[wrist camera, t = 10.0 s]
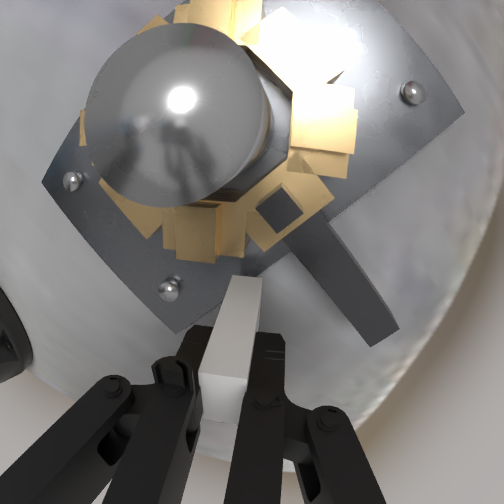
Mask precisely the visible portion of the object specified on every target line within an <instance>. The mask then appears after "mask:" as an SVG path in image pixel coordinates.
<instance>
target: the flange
mask: <svg viewBox="0 0 504 504" xmlns="http://www.w3.org/2000/svg"><path fill="white" fill-rule="evenodd" d="M262 1H263V6H264V11H265V16H266V17H268V16H269V15H271V14H272V13H274V12H275V11H277V10H279V9H280V8H282V7H283V8H285V9H286V10H287V11H288V12H289V13H291V14H292V15H293V16H294V17H295V18H296V19H298V20H299V21H300V22H301V23H302V24H303V25H304V26H305V27H306V28H308V29H309V30H310V31H311V32H312V33H313V34H314V35H315V36H316V37H317V38H318V39H319V40H320V41H321V42H322V43H323V44H324V45H325V46H326V47H327V48H328V49H329V50H330V51H331V52H332V53H333V54H334V55H335V56H336V57H337V58H338V59H339V60H340V61H341V63H342V64H343V65H344V66H345V67H346V69H345V71H344V72H343V73H342V74H341V75H340V76H339V78H338V79H337V80H336V81H335V82H334V83H332V84H331V85H336V86H342V87H348V88H353V89H354V104H353V109H354V110H358V117H357V129H356V140H355V149H354V154H349V160H348V168H347V176H346V179H344V178H337V177H330V176H322V175H317V176H318V177H319V178H320V180H321V181H322V182H323V183H324V185H325V186H326V187H327V189H328V190H329V191H330V193H331V194H332V195H333V196H334V198H335V199H333V200H332V201H331V202H329V203H328V204H327V205H325V206H324V207H323V208H321V209H320V210H319V211H320V212H321V214H322V215H323V216H324V218H325V219H326V220H327V222H329V221H330V220H331V219H333V218H334V217H335V216H337V215H338V214H339V213H341V212H342V211H343V210H344V209H346V208H347V207H348V206H350V205H351V204H352V203H353V202H355V201H356V200H357V199H359V198H360V197H361V196H362V195H364V194H365V193H366V192H367V191H369V190H370V189H371V188H373V187H374V186H375V185H376V184H378V183H379V182H380V181H381V180H383V179H384V178H385V177H386V176H388V175H389V174H390V173H391V172H393V171H394V170H395V169H397V168H398V167H399V166H400V165H401V164H403V163H404V162H405V161H406V160H408V159H409V158H410V157H411V156H413V155H414V154H415V153H416V152H418V151H419V150H420V149H421V148H423V147H424V146H425V145H426V144H427V143H429V142H430V141H431V140H432V139H434V138H435V137H436V136H437V135H438V134H440V133H441V132H442V131H443V130H444V129H446V128H447V127H448V126H449V125H450V124H452V123H453V122H454V121H455V120H456V119H458V118H459V117H460V116H461V115H462V114H464V113H465V112H464V110H463V108H462V107H461V105H460V103H459V102H458V100H457V98H456V97H455V95H454V94H453V92H452V91H451V89H450V87H449V86H448V84H447V83H446V81H445V80H444V79H443V77H442V76H441V74H440V73H439V71H438V70H437V69H436V67H435V66H434V64H433V63H432V62H431V60H430V59H429V58H428V57H427V55H426V54H425V53H424V51H423V50H422V49H421V48H420V46H419V45H418V44H417V43H416V42H415V40H414V39H413V38H412V37H411V36H410V35H409V33H408V32H407V31H406V30H405V29H404V28H403V27H402V26H401V25H400V23H399V22H398V21H397V20H396V19H395V18H394V17H393V16H392V15H391V14H390V13H389V12H388V11H387V10H386V9H385V8H384V7H383V6H382V5H381V4H380V3H379V2H378V1H377V0H262ZM183 4H190V0H186V1H184V2H183V3H182V4H181V5H183ZM174 15H175V10H174V11H172V12H171V13H170V14H169V15H168V16H167V17H166V18H164V20H165V21H166V22H168V23H169V24H166V25H161V26H157V27H154V28H151V29H149V30H146V31H144V32H142V33H140V34H138V35H136V36H134V37H133V38H131V39H130V40H128V41H127V42H126V43H124V44H123V45H122V46H121V47H120V48H118V49H117V50H116V51H115V52H114V53H113V54H112V55H111V56H110V58H109V59H108V60H107V61H106V63H105V64H104V65H103V67H102V68H101V70H100V71H99V73H98V75H97V76H96V78H95V80H94V82H93V85H92V87H91V90H90V93H89V96H88V99H87V103H86V108H85V117H84V132H85V139H86V145H85V146H79V142H80V117H79V118H78V120H77V121H76V123H75V124H74V126H73V127H72V129H71V130H70V132H69V133H68V135H67V137H66V138H65V140H64V142H63V143H62V145H61V147H60V148H59V150H58V152H57V154H56V155H55V157H54V159H53V161H52V163H51V165H50V166H49V168H48V170H47V172H46V174H45V176H44V178H43V180H42V184H43V185H44V187H45V188H46V189H47V191H48V192H49V194H50V195H51V196H52V198H53V199H54V200H55V202H56V203H57V204H58V206H59V207H60V208H61V210H62V211H63V212H64V214H65V215H66V216H67V218H68V219H69V220H70V221H71V223H72V224H73V225H74V226H75V228H76V229H77V230H78V231H79V233H80V234H81V235H82V236H83V237H84V239H85V240H86V241H87V242H88V243H89V245H90V246H91V247H92V248H93V249H94V250H95V252H96V253H97V254H98V255H99V256H100V257H101V259H102V260H103V261H104V262H105V263H106V264H107V265H108V266H109V267H110V269H111V270H112V271H113V272H114V273H115V274H116V275H117V276H118V277H119V278H120V279H121V281H122V282H123V283H124V284H125V285H126V286H127V287H128V288H129V289H130V290H131V291H132V292H133V293H134V294H135V295H136V296H137V297H138V298H139V299H140V300H141V301H142V302H143V303H144V304H145V305H146V306H147V307H148V308H149V309H150V310H151V311H152V312H153V313H154V314H155V315H156V316H157V317H158V318H159V319H160V320H161V321H162V322H163V323H164V324H165V325H167V326H168V327H169V328H170V329H171V330H172V331H173V332H174V333H175V334H177V333H179V332H180V331H181V330H183V329H184V328H186V327H187V326H188V325H190V324H191V323H193V322H194V321H195V320H197V319H198V318H200V317H201V316H202V315H204V314H205V313H207V312H208V311H209V310H211V309H212V308H214V307H215V306H216V305H218V304H219V303H220V302H222V301H223V300H224V297H225V295H226V292H227V289H228V286H229V283H230V281H231V278H232V275H237V276H247V277H256V276H257V275H259V274H260V273H261V272H263V271H264V270H265V269H267V268H268V267H269V266H271V265H272V264H273V263H275V262H276V261H277V260H279V259H280V258H281V257H283V256H284V255H285V254H287V253H288V252H289V251H291V249H290V248H289V247H288V246H287V245H286V244H285V242H284V241H283V240H282V239H281V240H279V241H278V242H277V243H275V244H274V245H273V246H271V247H270V248H269V249H267V250H266V251H265V252H263V250H262V249H261V248H260V247H259V246H258V245H257V244H256V243H255V241H254V240H253V239H252V238H251V239H250V242H249V245H248V247H247V250H246V253H245V256H244V258H242V257H233V256H224V255H219V257H218V259H217V261H216V262H215V264H212V263H204V262H195V261H187V260H179V259H176V250H171V249H163V227H162V228H161V229H160V230H159V231H157V232H156V233H155V234H153V235H152V236H151V237H150V238H148V239H146V238H145V237H144V236H143V235H142V234H141V233H140V231H139V230H138V229H137V228H136V227H135V226H134V225H133V223H132V222H131V221H130V220H129V219H128V218H127V217H126V215H125V214H124V213H123V212H122V211H121V210H120V208H119V207H118V206H117V205H116V204H115V202H114V201H113V200H112V199H111V198H110V197H109V195H108V194H107V193H106V192H105V190H104V189H103V188H102V187H101V186H100V184H99V183H98V182H99V181H100V180H101V178H103V180H104V181H105V182H106V183H107V184H108V185H109V186H110V187H111V188H112V189H114V190H115V191H116V192H117V193H119V194H120V195H122V196H123V197H125V198H127V199H129V200H131V201H133V202H136V203H138V204H142V205H146V206H150V207H159V208H166V207H177V206H183V205H186V204H190V203H193V202H196V201H198V200H200V199H203V198H205V197H207V196H208V195H210V194H212V193H213V192H215V191H217V190H218V189H224V190H237V191H245V190H246V189H248V188H249V187H250V186H251V185H252V184H253V183H255V182H256V181H257V180H258V179H259V178H261V177H262V176H263V175H264V174H265V173H267V172H268V171H269V170H270V169H272V168H273V167H274V166H275V165H276V164H278V163H279V162H280V161H281V160H283V159H284V158H285V157H286V156H287V155H288V144H289V132H290V119H291V106H292V101H291V100H290V99H289V97H288V96H287V95H286V94H285V93H284V92H283V91H282V90H281V89H280V88H279V87H278V86H277V85H276V84H275V83H274V82H273V81H272V80H271V79H270V78H269V77H268V76H267V75H266V74H265V73H264V72H263V71H262V70H261V69H260V68H259V67H258V66H257V65H256V64H255V63H254V62H252V61H251V60H250V58H249V57H248V55H247V54H246V53H245V51H244V50H243V49H242V48H241V47H240V46H239V45H238V44H237V43H236V42H235V41H234V40H232V39H231V38H230V37H228V36H227V35H226V34H224V33H222V32H220V31H218V30H216V29H213V28H211V27H208V26H205V25H200V24H194V23H173V21H174ZM92 162H93V164H94V166H92Z"/></svg>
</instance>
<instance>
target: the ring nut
mask: <svg viewBox="0 0 504 504" xmlns="http://www.w3.org/2000/svg"><path fill="white" fill-rule="evenodd" d="M173 23H194V24H200V25H205V26H208V27H211V28H213V29H216V30H218V31H220V32H222V33H224V34H226V35H227V36H228V37H230V38H231V39H232V40H234V41H235V42H236V43H237V44H238V45H239V46H240V47H241V48H242V49H243V50H244V51H245V53H246V54H247V55H248V57H249V58H250V60H251V61H252V62H254V63H255V64H256V65H257V66H258V67H259V68H260V69H261V70H262V71H263V72H264V73H265V74H266V75H267V76H268V77H269V78H270V79H271V80H272V81H273V82H274V83H275V84H276V85H277V86H278V87H279V88H280V89H281V90H282V91H283V92H284V93H285V94H286V95H287V96H288V97H289V99H290V100H291V101H292V106H291V119H290V132H289V144H288V155H287V156H286V157H285V158H284V159H283V160H281V161H280V162H279V163H278V164H276V165H275V166H274V167H273V168H272V169H270V170H269V171H268V172H267V173H265V174H264V175H263V176H262V177H261V178H259V179H258V180H257V181H256V182H255V183H253V184H252V185H251V186H250V187H249V188H248V189H246V190H245V191H237V190H224V189H218V190H217V191H215V192H213V193H212V194H210V195H208V196H207V197H205V198H203V199H200V200H198V201H196V202H193V203H190V204H186V205H183V206H177V207H166V208H159V207H150V206H146V205H142V204H138V203H136V202H133V201H131V200H129V199H127V198H125V197H123V196H122V195H120V194H119V193H117V192H116V191H115V190H114V189H112V188H111V187H110V186H109V185H108V184H107V183H106V182H105V181H104V180H103V178H101V180H100V181H99V182H98V183H99V184H100V186H101V187H102V188H103V189H104V190H105V192H106V193H107V194H108V195H109V197H110V198H111V199H112V200H113V201H114V202H115V204H116V205H117V206H118V207H119V208H120V210H121V211H122V212H123V213H124V214H125V215H126V217H127V218H128V219H129V220H130V221H131V222H132V223H133V225H134V226H135V227H136V228H137V229H138V230H139V231H140V233H141V234H142V235H143V236H144V237H145V238H146V239H148V238H150V237H151V236H152V235H153V234H155V233H156V232H157V231H159V230H160V229H161V228H162V227H163V249H171V250H176V259H179V260H187V261H195V262H204V263H212V264H215V262H216V261H217V259H218V257H219V255H224V256H233V257H242V258H244V256H245V253H246V250H247V247H248V245H249V242H250V239H251V238H252V239H253V240H254V241H255V243H256V244H257V245H258V246H259V247H260V248H261V249H262V250H263V252H265V251H266V250H267V249H269V248H270V247H271V246H273V245H274V244H275V243H277V242H278V241H279V240H281V239H282V240H283V241H284V242H285V244H286V245H287V246H288V247H289V248H290V249H291V251H292V252H293V253H294V254H295V255H296V257H297V258H298V259H299V260H300V261H301V262H302V264H303V265H304V266H305V267H306V268H307V270H308V271H309V272H310V273H311V274H312V276H313V277H314V278H315V279H316V281H317V282H318V283H319V284H320V285H321V287H322V288H323V289H324V290H325V291H326V293H327V294H328V295H329V296H330V298H331V299H332V300H333V301H334V303H335V304H336V305H337V306H338V307H339V309H340V310H341V311H342V312H343V314H344V315H345V316H346V317H347V319H348V320H349V321H350V322H351V324H352V325H353V326H354V327H355V329H356V330H357V331H358V332H359V334H360V335H361V336H362V338H363V339H364V340H365V341H366V343H367V344H368V345H369V346H370V347H372V346H374V345H375V344H377V343H378V342H380V341H382V340H383V339H385V338H386V337H388V336H389V335H391V334H393V333H394V332H396V331H397V330H399V327H398V325H397V323H396V321H395V319H394V317H393V315H392V313H391V311H390V309H389V308H388V306H387V305H386V303H385V302H384V300H383V299H382V297H381V296H380V294H379V293H378V291H377V290H376V288H375V287H374V285H373V284H372V282H371V281H370V279H369V278H368V276H367V275H366V274H365V272H364V271H363V269H362V268H361V266H360V265H359V264H358V262H357V261H356V259H355V258H354V257H353V255H352V254H351V252H350V251H349V250H348V248H347V247H346V246H345V244H344V243H343V241H342V240H341V239H340V237H339V236H338V235H337V233H336V232H335V231H334V229H333V228H332V227H331V225H330V224H329V223H328V222H327V220H326V219H325V218H324V216H323V215H322V214H321V212H320V211H319V210H320V209H321V208H323V207H324V206H325V205H327V204H328V203H329V202H331V201H332V200H333V199H335V198H334V196H333V195H332V194H331V193H330V191H329V190H328V189H327V187H326V186H325V185H324V183H323V182H322V181H321V180H320V178H319V177H318V176H317V175H322V176H330V177H337V178H344V179H346V176H347V168H348V160H349V154H354V149H355V140H356V129H357V117H358V110H354V109H353V104H354V89H353V88H348V87H342V86H336V85H331V84H332V83H334V82H335V81H336V80H337V79H338V78H339V76H340V75H341V74H342V73H343V72H344V71H345V69H346V67H345V66H344V65H343V64H342V63H341V61H340V60H339V59H338V58H337V57H336V56H335V55H334V54H333V53H332V52H331V51H330V50H329V49H328V48H327V47H326V46H325V45H324V44H323V43H322V42H321V41H320V40H319V39H318V38H317V37H316V36H315V35H314V34H313V33H312V32H311V31H310V30H309V29H308V28H306V27H305V26H304V25H303V24H302V23H301V22H300V21H299V20H298V19H296V18H295V17H294V16H293V15H292V14H291V13H289V12H288V11H287V10H286V9H285V8H283V7H282V8H280V9H279V10H277V11H275V12H274V13H272V14H271V15H269V16H268V17H266V16H265V11H264V6H263V1H262V0H190V4H183V5H176V9H175V15H174V21H173ZM166 24H169V23H168V22H166V21H165V20H164V19H163V18H161V17H160V16H159V15H156V16H155V17H154V18H153V19H152V20H151V21H150V22H149V23H148V24H147V25H146V26H145V27H144V28H143V29H142V30H141V31H140V32H139V33H138V34H140V33H142V32H144V31H146V30H149V29H151V28H154V27H157V26H161V25H166ZM138 34H137V35H138ZM84 117H85V109H84V110H81V111H80V142H79V146H85V145H86V139H85V132H84ZM92 166H94V164H93V162H92Z"/></svg>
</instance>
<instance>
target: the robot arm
mask: <svg viewBox="0 0 504 504" xmlns="http://www.w3.org/2000/svg"><path fill="white" fill-rule="evenodd" d="M262 285H263V278H258V277H247V276H237V275H232V278H231V281H230V283H229V286H228V289H227V292H226V295H225V297H224V300H223V303H222V306H221V308H220V311H219V314H218V317H217V320H216V322H215V325H214V327H207V326H200V325H194V326H193V327H192V328H191V329H189V330H188V331H187V333H186V335H185V337H184V339H183V342H182V343H181V345H180V348H179V350H178V352H177V354H176V356H168V357H163V358H161V359H159V360H157V361H155V363H154V364H153V365H152V366H151V368H152V372H153V376H154V380H155V383H154V384H149V385H130V382H129V381H128V380H127V379H126V378H125V377H122V376H119V375H109V376H106V377H103V378H102V379H100V380H99V381H98V382H97V383H96V384H95V385H94V386H93V387H92V388H91V389H89V390H88V391H87V392H86V393H85V394H84V395H83V396H82V397H81V398H80V399H79V400H78V401H77V402H76V403H75V404H74V405H73V406H72V407H71V408H70V409H69V410H68V411H67V412H66V413H64V414H63V415H62V416H61V417H60V418H59V419H58V420H57V421H56V422H55V423H54V424H53V425H52V426H51V427H50V428H49V429H48V430H47V431H46V432H45V433H44V434H43V435H42V436H41V437H40V438H39V439H38V440H37V441H36V442H35V443H34V444H33V445H32V446H31V447H29V448H28V449H27V450H26V451H25V452H24V453H23V454H22V455H21V456H20V457H19V458H18V460H16V461H15V462H14V463H13V464H12V465H11V466H10V467H9V468H8V469H7V470H6V471H5V472H4V473H3V474H2V475H1V476H0V504H91V503H92V502H93V501H94V500H95V499H96V497H97V496H98V495H99V494H100V493H101V491H102V490H103V489H104V488H105V486H106V485H107V484H108V483H109V482H110V480H111V479H112V481H111V483H110V486H109V488H108V490H107V493H106V495H105V497H104V500H103V502H102V504H181V500H182V496H183V492H184V489H185V485H186V481H187V478H188V474H189V471H190V467H191V463H192V460H193V456H194V453H195V449H196V445H197V442H198V438H199V434H200V420H201V417H202V413H203V419H204V420H210V421H216V422H222V423H229V424H237V425H238V429H237V434H236V440H235V445H234V451H233V456H232V462H231V467H230V472H229V478H228V483H227V489H226V493H225V499H224V504H280V498H281V484H282V470H283V458H284V459H287V460H290V461H293V463H294V467H295V470H296V474H297V477H298V481H299V485H300V489H301V492H302V496H303V500H304V503H305V504H386V501H385V499H384V497H383V494H382V492H381V490H380V487H379V485H378V483H377V481H376V478H375V476H374V474H373V471H372V469H371V467H370V465H369V462H368V460H367V458H366V456H365V453H364V451H363V449H362V446H361V444H360V442H359V440H358V438H357V435H356V433H355V431H354V429H353V426H352V424H351V422H350V420H349V418H348V416H347V415H346V414H345V412H344V411H342V410H341V409H339V408H337V407H333V406H321V407H318V408H315V409H314V410H313V411H311V410H308V409H305V408H302V407H299V406H297V405H295V404H293V403H292V402H291V401H290V400H289V399H288V398H287V396H286V394H285V391H284V376H285V341H284V340H283V338H282V336H281V334H275V333H265V332H258V328H259V319H260V308H261V296H262ZM31 361H32V351H31V347H30V343H29V341H28V338H27V335H26V333H25V331H24V329H23V327H22V325H21V323H20V321H19V319H18V317H17V315H16V313H15V311H14V310H13V308H12V306H11V305H10V303H9V301H8V300H7V298H6V297H5V295H4V294H3V292H2V291H1V289H0V383H2V382H4V381H6V380H8V379H10V378H12V377H14V376H16V375H18V374H20V373H22V372H23V371H24V370H25V369H26V368H27V366H28V365H29V364H30V363H31Z"/></svg>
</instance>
